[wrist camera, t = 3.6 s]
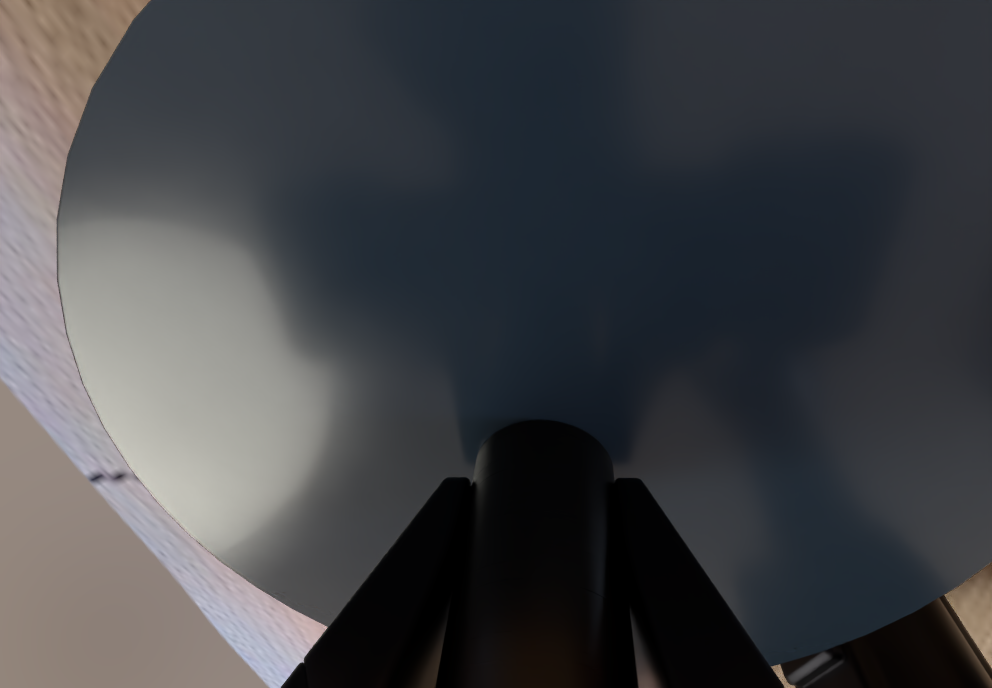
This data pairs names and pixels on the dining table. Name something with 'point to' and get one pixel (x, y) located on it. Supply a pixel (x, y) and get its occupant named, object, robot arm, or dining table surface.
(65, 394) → the dining table surface
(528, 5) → the pot lid
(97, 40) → the dining table surface
